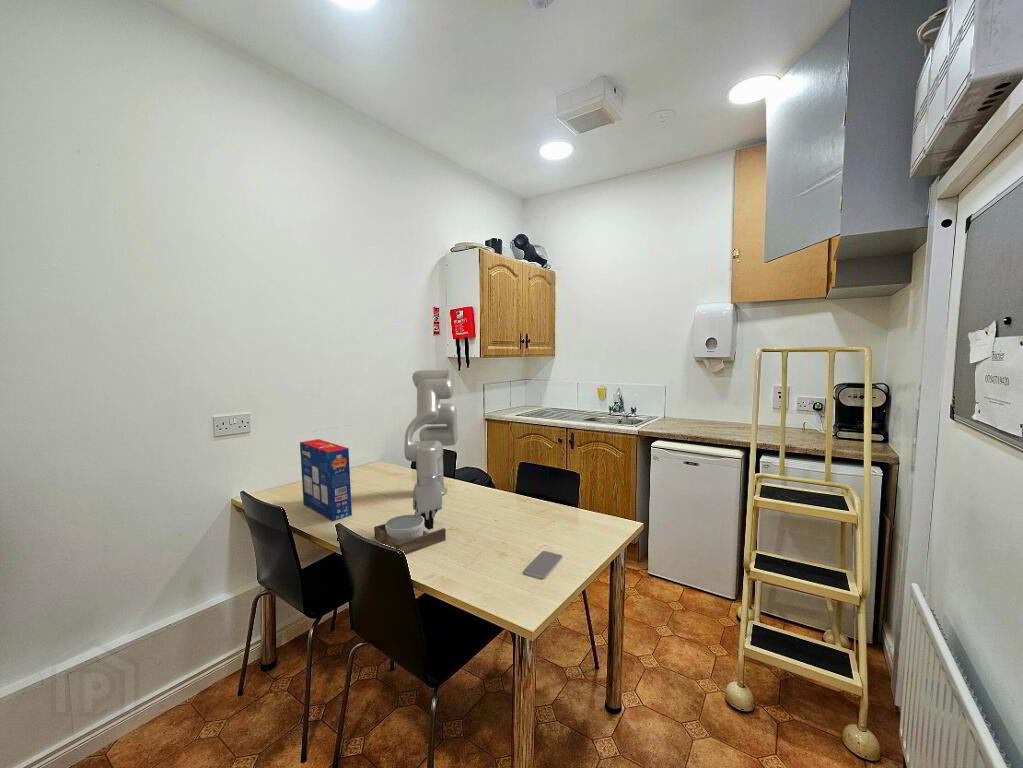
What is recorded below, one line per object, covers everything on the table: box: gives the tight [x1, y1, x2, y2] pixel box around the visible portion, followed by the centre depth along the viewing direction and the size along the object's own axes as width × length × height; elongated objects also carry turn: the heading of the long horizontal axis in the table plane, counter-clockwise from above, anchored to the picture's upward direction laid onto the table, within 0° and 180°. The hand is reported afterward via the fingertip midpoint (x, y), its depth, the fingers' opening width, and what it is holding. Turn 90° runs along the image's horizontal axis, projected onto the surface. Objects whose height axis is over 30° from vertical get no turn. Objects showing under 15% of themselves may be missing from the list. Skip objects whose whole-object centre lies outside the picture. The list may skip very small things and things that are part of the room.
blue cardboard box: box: [299, 438, 353, 522], centre depth 174 cm, size 28×8×28 cm, turn 48°
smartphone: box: [522, 550, 563, 580], centre depth 128 cm, size 7×1×15 cm
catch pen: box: [373, 523, 447, 555], centre depth 147 cm, size 19×18×4 cm
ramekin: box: [384, 514, 424, 543], centre depth 145 cm, size 13×13×7 cm
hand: (429, 528), depth 152 cm, fingers closed
